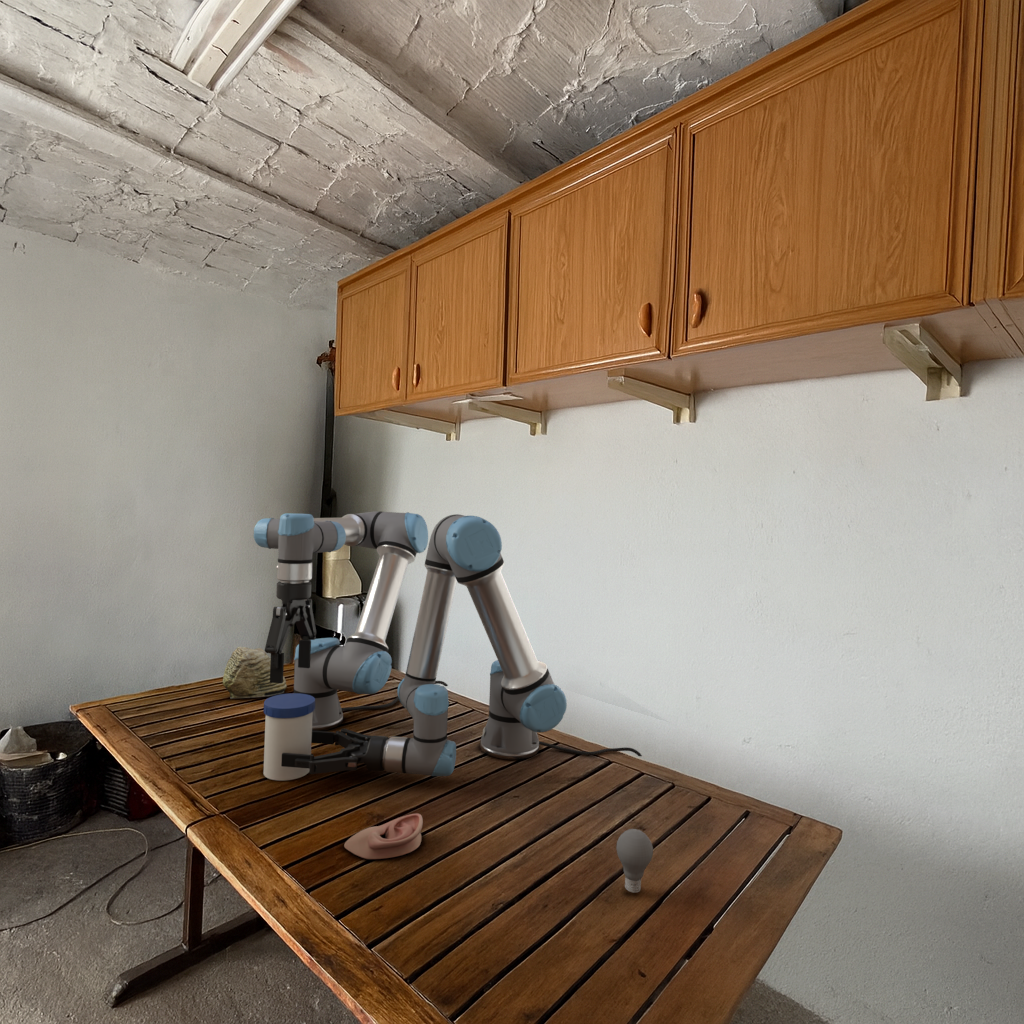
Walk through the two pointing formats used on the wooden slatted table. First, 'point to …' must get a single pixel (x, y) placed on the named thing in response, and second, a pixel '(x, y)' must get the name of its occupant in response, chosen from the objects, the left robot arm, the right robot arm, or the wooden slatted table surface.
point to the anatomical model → (387, 838)
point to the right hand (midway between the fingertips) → (295, 747)
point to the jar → (286, 745)
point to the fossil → (250, 674)
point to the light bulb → (634, 857)
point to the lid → (289, 705)
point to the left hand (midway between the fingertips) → (290, 674)
